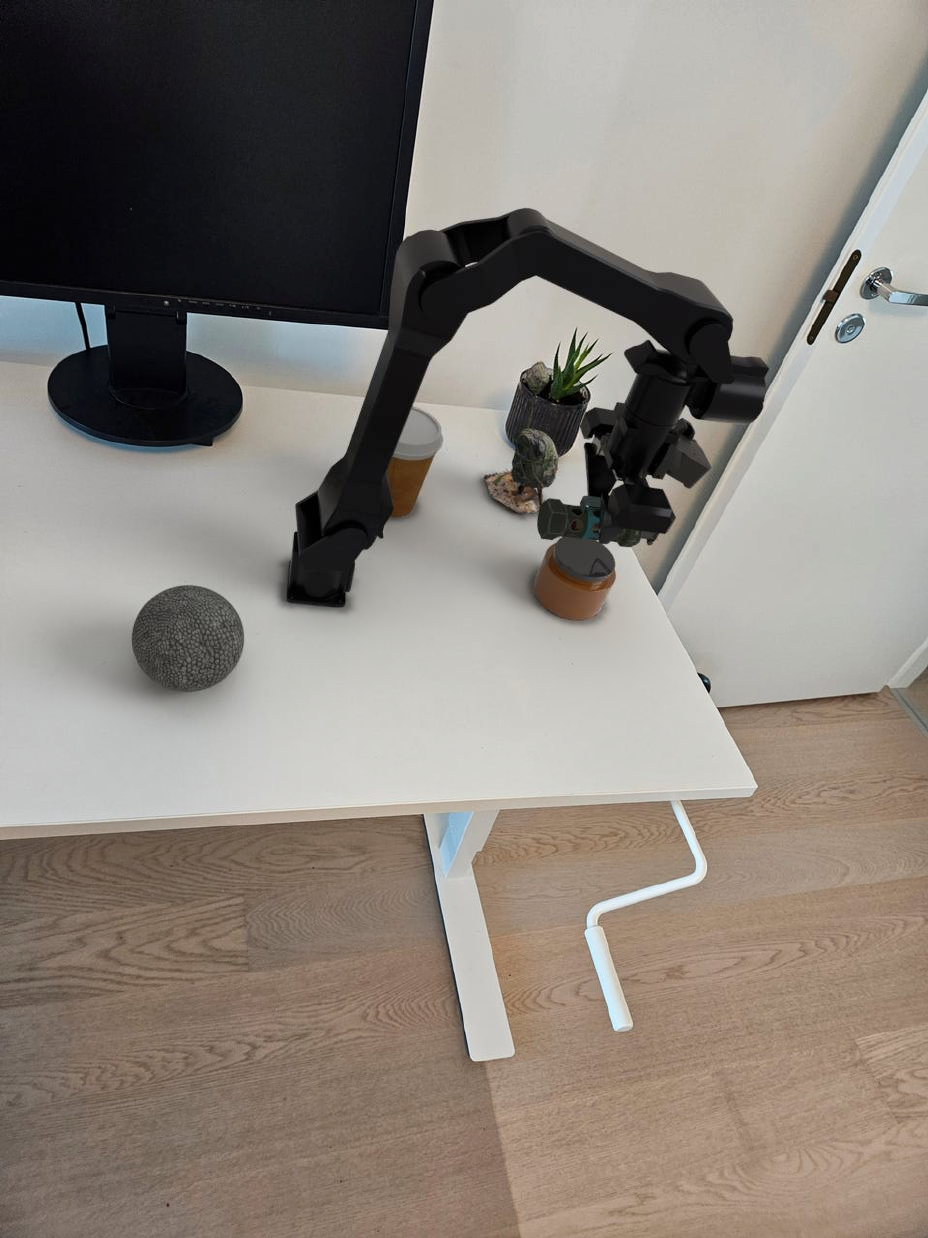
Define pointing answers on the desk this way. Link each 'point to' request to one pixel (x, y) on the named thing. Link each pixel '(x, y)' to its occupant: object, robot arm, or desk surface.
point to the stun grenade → (581, 522)
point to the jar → (575, 578)
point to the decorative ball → (187, 638)
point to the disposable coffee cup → (413, 459)
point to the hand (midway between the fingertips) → (597, 526)
